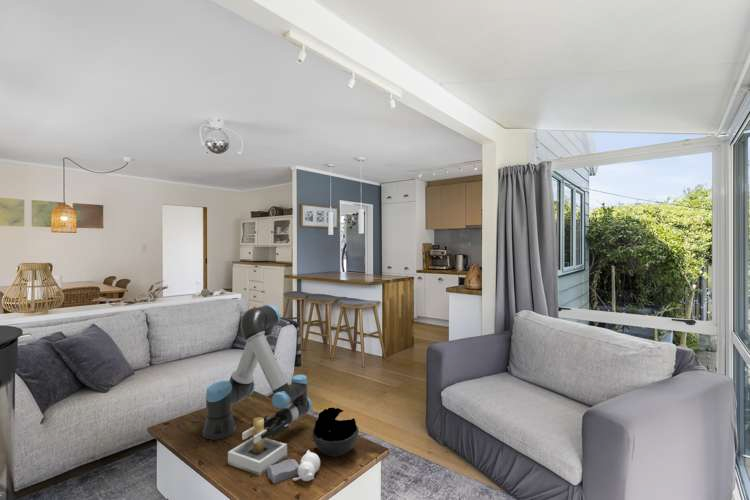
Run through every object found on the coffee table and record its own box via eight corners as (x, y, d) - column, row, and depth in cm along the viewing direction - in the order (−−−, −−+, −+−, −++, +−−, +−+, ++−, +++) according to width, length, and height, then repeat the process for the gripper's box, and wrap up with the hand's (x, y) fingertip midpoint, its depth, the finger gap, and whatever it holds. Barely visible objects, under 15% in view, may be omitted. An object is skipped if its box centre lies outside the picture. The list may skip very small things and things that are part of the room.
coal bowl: (336, 437, 175) (335, 397, 175) (368, 451, 162) (367, 408, 163) (303, 455, 160) (302, 412, 160) (335, 472, 147) (335, 425, 147)
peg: (250, 458, 156) (250, 420, 156) (258, 453, 160) (258, 416, 160) (258, 461, 154) (258, 422, 154) (265, 456, 158) (266, 418, 158)
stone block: (265, 478, 147) (273, 485, 139) (264, 465, 148) (273, 471, 140) (293, 469, 154) (302, 475, 146) (292, 456, 155) (302, 462, 147)
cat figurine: (306, 461, 139) (315, 443, 151) (283, 474, 140) (294, 456, 152) (319, 481, 138) (326, 461, 150) (296, 494, 140) (305, 474, 151)
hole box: (228, 463, 154) (227, 451, 154) (256, 445, 168) (256, 434, 168) (259, 475, 146) (259, 462, 146) (287, 455, 160) (287, 444, 160)
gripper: (302, 428, 168) (265, 452, 148) (271, 419, 177) (232, 442, 157) (302, 411, 169) (265, 434, 148) (271, 404, 177) (232, 424, 157)
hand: (248, 438), depth 152 cm, fingers open, 6 cm apart
